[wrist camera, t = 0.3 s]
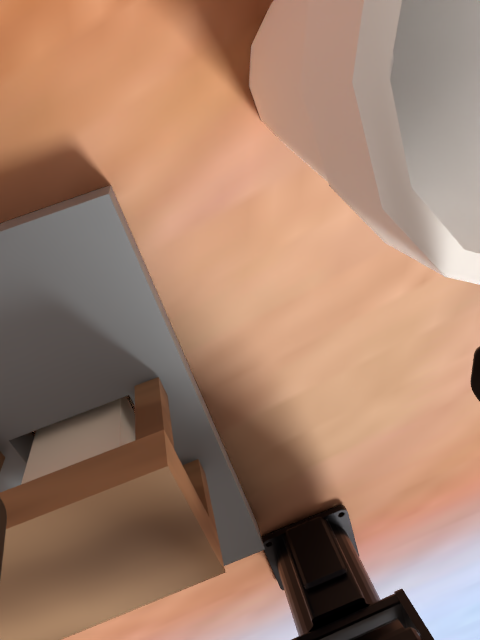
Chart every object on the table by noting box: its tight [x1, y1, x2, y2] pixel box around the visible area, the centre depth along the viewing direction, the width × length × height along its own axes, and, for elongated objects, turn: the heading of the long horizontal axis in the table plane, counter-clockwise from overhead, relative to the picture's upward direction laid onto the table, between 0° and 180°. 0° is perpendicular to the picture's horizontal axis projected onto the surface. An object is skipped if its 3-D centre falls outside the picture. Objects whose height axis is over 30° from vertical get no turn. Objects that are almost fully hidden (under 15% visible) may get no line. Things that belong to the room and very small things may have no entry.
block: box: [21, 396, 135, 484], centre depth 22 cm, size 4×4×6 cm
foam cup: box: [249, 0, 480, 285], centre depth 13 cm, size 10×9×13 cm
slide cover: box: [0, 377, 225, 640], centre depth 20 cm, size 7×9×6 cm
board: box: [0, 185, 265, 566], centre depth 23 cm, size 24×12×2 cm, turn 17°
